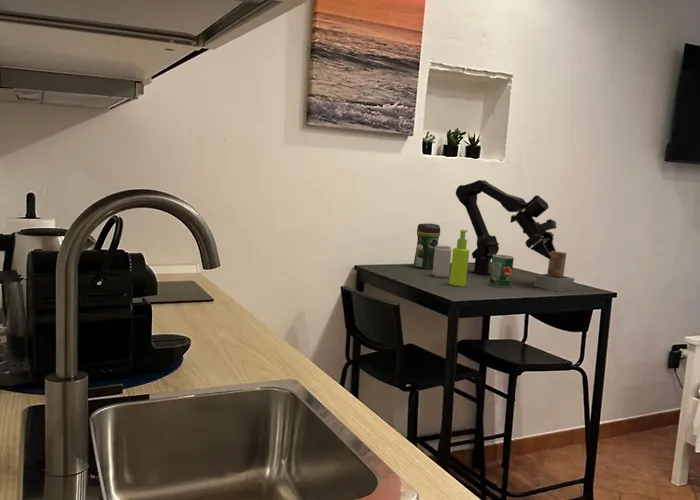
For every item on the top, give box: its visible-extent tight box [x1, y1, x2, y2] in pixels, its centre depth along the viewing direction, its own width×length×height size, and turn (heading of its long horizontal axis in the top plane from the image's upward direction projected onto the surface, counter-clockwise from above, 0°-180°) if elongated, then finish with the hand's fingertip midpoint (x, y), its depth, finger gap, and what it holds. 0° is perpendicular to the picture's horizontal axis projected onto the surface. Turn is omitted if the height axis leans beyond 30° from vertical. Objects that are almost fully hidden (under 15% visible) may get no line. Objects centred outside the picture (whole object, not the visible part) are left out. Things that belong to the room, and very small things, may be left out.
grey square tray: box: [533, 273, 576, 293], centre depth 244 cm, size 11×11×4 cm
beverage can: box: [432, 244, 453, 278], centre depth 248 cm, size 6×6×12 cm
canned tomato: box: [488, 254, 515, 288], centre depth 240 cm, size 8×8×11 cm
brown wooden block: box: [546, 250, 567, 279], centre depth 243 cm, size 5×4×13 cm
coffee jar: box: [413, 222, 441, 270], centre depth 266 cm, size 10×8×19 cm
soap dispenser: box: [448, 229, 470, 287], centre depth 233 cm, size 6×7×20 cm
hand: (553, 257), depth 244 cm, fingers open, 9 cm apart
